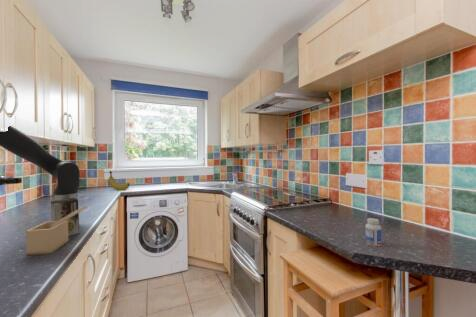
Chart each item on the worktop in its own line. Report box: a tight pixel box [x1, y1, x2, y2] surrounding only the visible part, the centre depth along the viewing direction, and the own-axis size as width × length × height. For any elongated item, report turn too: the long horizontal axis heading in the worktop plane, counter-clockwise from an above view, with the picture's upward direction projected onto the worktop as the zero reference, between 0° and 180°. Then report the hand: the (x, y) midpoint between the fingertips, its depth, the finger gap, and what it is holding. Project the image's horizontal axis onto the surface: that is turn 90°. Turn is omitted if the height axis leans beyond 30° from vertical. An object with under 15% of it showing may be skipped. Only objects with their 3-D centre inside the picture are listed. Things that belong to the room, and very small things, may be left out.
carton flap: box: [51, 205, 88, 227], centre depth 87 cm, size 10×1×9 cm
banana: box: [107, 170, 130, 191], centre depth 226 cm, size 23×6×20 cm, turn 83°
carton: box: [25, 221, 70, 256], centre depth 86 cm, size 11×8×9 cm
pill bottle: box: [364, 217, 383, 247], centre depth 87 cm, size 6×5×10 cm
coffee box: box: [50, 198, 80, 237], centre depth 100 cm, size 9×6×16 cm
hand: (20, 180), depth 84 cm, fingers closed
